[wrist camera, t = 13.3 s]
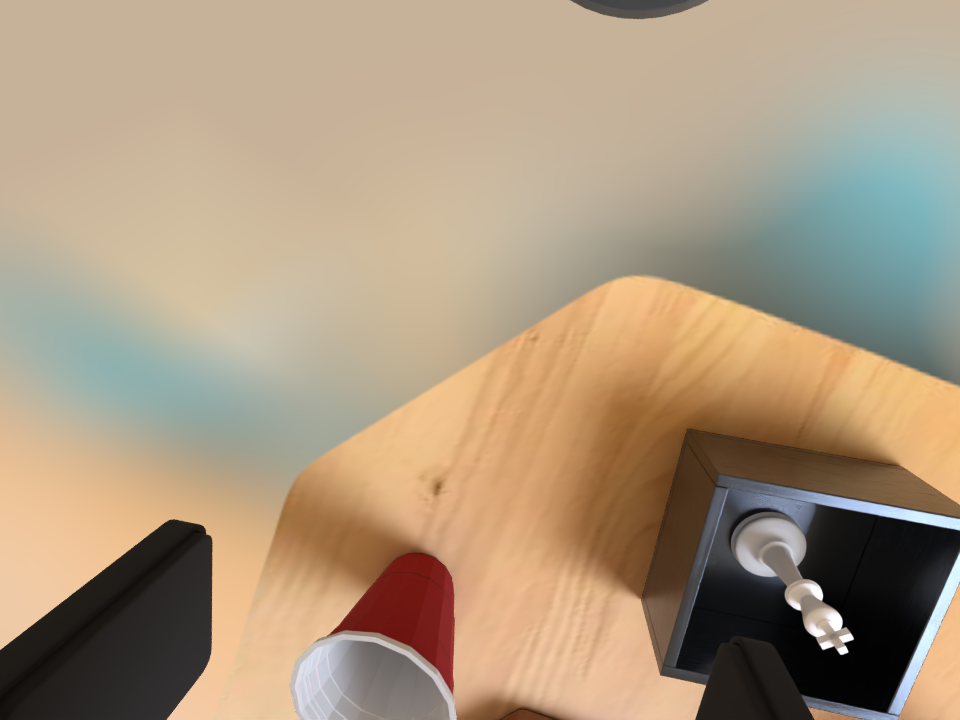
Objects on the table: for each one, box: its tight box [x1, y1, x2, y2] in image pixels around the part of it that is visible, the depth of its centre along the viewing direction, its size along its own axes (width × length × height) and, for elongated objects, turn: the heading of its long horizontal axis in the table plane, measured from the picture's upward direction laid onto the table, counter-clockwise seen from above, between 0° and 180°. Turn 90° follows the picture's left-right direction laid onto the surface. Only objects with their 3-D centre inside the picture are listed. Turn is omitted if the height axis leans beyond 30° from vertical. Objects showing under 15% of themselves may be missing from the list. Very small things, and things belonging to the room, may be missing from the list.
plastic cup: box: [290, 553, 457, 720], centre depth 37 cm, size 11×11×12 cm
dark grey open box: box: [641, 429, 960, 720], centre depth 35 cm, size 15×15×7 cm
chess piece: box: [731, 512, 854, 655], centre depth 33 cm, size 5×5×10 cm
